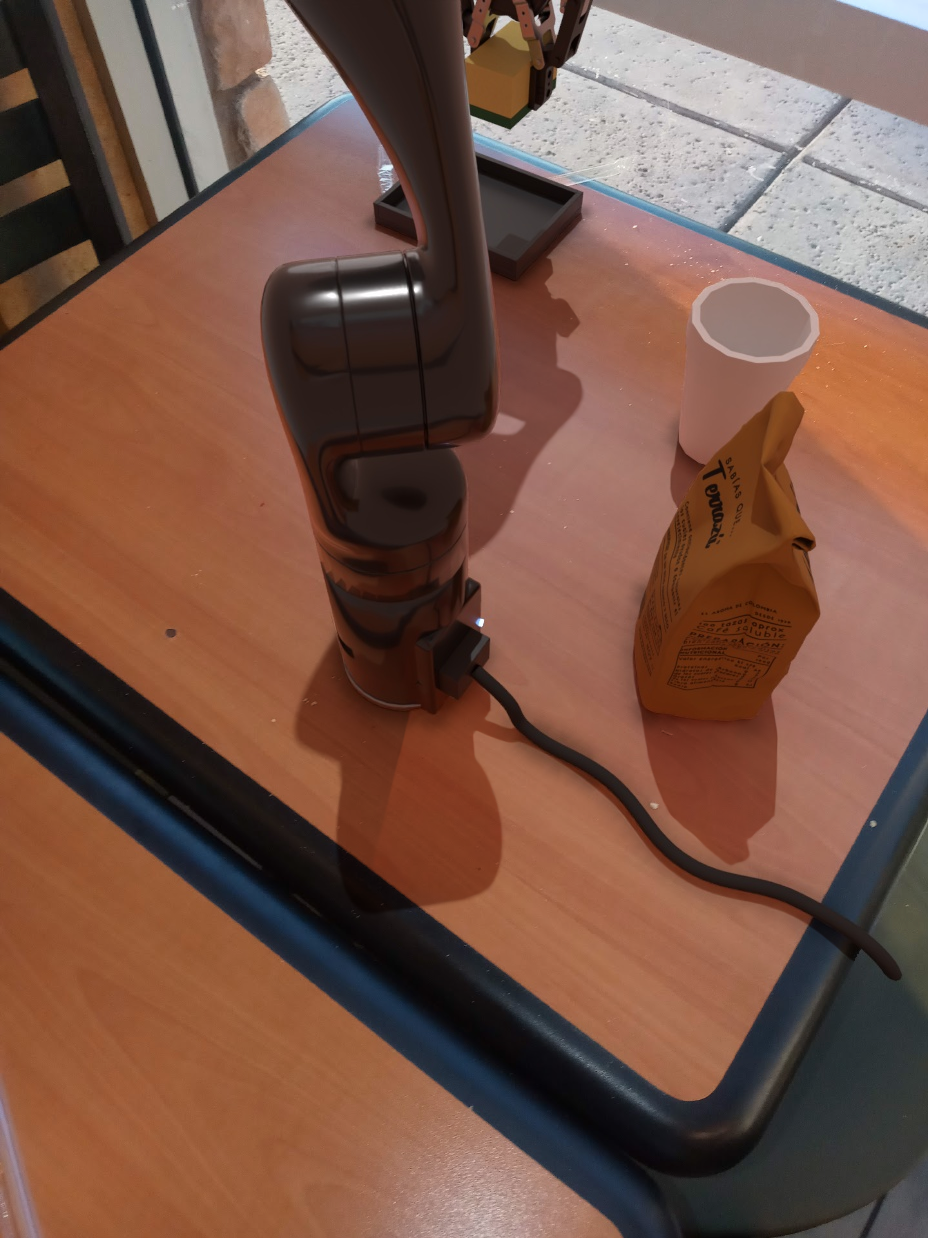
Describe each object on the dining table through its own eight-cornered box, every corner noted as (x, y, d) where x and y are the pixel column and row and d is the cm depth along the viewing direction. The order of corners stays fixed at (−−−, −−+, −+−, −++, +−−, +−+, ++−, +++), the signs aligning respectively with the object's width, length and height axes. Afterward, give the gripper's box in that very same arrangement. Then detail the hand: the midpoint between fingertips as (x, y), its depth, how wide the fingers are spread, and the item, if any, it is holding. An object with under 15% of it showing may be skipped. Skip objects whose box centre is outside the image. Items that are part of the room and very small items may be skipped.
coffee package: (767, 594, 70) (876, 381, 51) (764, 739, 64) (887, 557, 45) (638, 574, 71) (699, 358, 52) (622, 715, 65) (685, 527, 46)
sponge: (509, 71, 85) (511, 19, 81) (556, 87, 83) (560, 35, 79) (462, 112, 81) (462, 60, 77) (510, 130, 80) (512, 77, 76)
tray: (581, 211, 95) (583, 191, 93) (515, 281, 90) (516, 261, 88) (445, 159, 100) (445, 139, 98) (374, 222, 95) (372, 202, 93)
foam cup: (643, 413, 80) (671, 290, 69) (738, 390, 82) (781, 266, 70) (689, 492, 75) (726, 375, 64) (789, 467, 77) (843, 347, 66)
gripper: (410, -139, 68) (421, 92, 82) (578, -94, 64) (558, 141, 78) (465, -174, 71) (466, 55, 86) (628, -132, 67) (600, 100, 81)
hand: (510, 95), depth 82 cm, fingers closed on sponge, 5 cm apart
